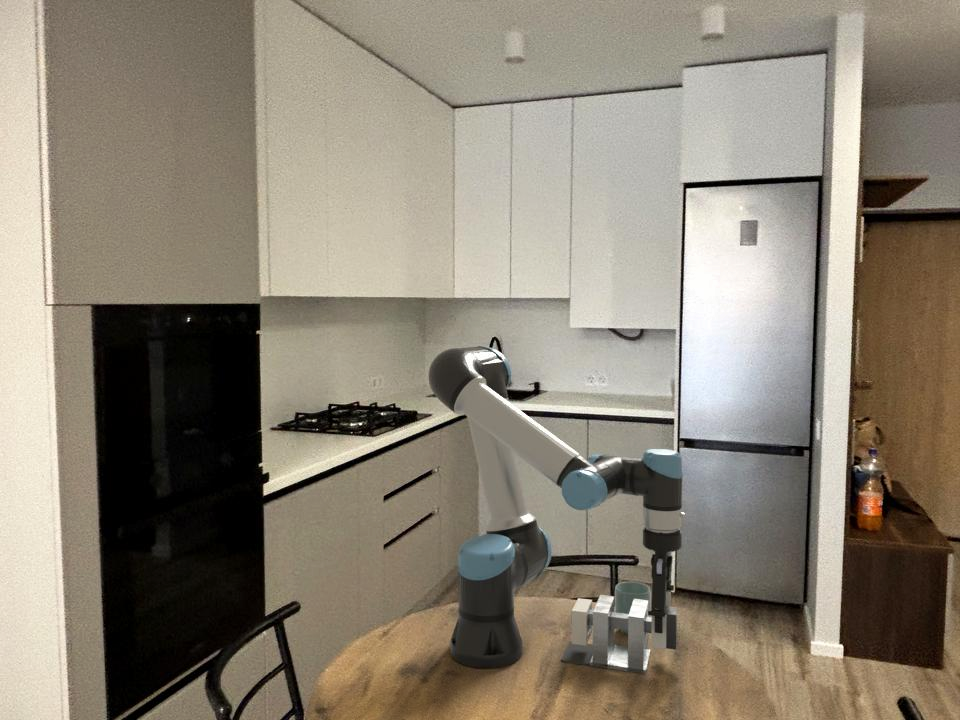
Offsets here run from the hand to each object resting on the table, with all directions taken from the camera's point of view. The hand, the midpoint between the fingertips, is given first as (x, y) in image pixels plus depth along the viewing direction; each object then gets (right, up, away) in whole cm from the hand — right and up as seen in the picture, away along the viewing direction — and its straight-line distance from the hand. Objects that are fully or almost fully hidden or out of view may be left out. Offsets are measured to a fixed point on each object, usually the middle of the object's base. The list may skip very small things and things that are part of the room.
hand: (661, 634), depth 147 cm
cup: (-2, -6, +16) cm, 17 cm away
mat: (-16, -6, +5) cm, 18 cm away
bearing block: (-8, -6, +3) cm, 10 cm away
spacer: (-15, +1, +5) cm, 16 cm away
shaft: (-7, -2, +2) cm, 8 cm away
